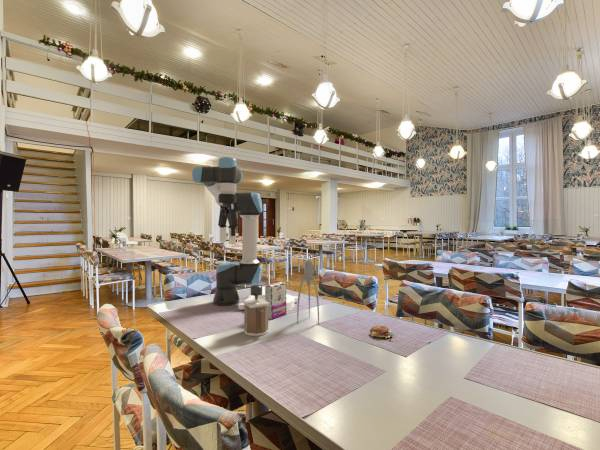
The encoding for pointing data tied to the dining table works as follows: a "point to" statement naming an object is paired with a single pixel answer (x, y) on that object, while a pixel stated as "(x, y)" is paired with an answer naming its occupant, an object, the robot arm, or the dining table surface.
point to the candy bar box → (276, 299)
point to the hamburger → (381, 332)
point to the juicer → (308, 277)
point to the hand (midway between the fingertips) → (227, 243)
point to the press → (256, 317)
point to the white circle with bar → (289, 299)
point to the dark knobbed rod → (256, 291)
